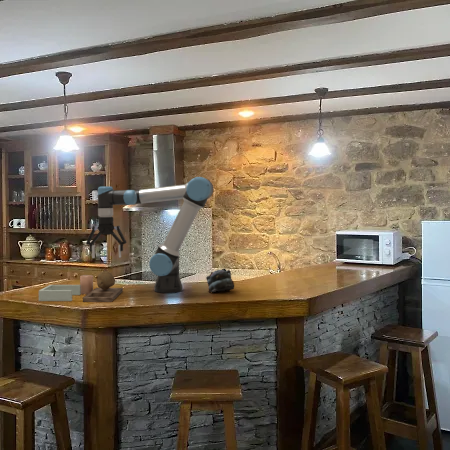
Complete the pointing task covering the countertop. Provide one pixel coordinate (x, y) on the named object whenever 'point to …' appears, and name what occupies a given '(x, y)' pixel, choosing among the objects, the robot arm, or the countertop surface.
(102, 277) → the natural sponge
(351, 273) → the countertop surface
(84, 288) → the brown rounded block
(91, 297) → the brown wooden tray
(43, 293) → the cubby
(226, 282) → the grey animal figurine
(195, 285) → the countertop surface
